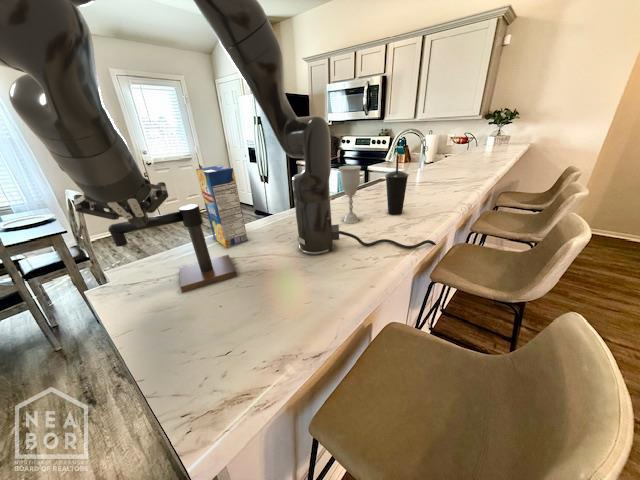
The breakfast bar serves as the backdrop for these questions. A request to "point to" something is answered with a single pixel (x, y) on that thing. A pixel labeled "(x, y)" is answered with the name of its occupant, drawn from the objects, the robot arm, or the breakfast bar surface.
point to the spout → (158, 223)
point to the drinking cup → (396, 190)
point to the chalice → (350, 187)
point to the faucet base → (204, 265)
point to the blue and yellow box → (222, 204)
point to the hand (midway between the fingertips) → (141, 222)
